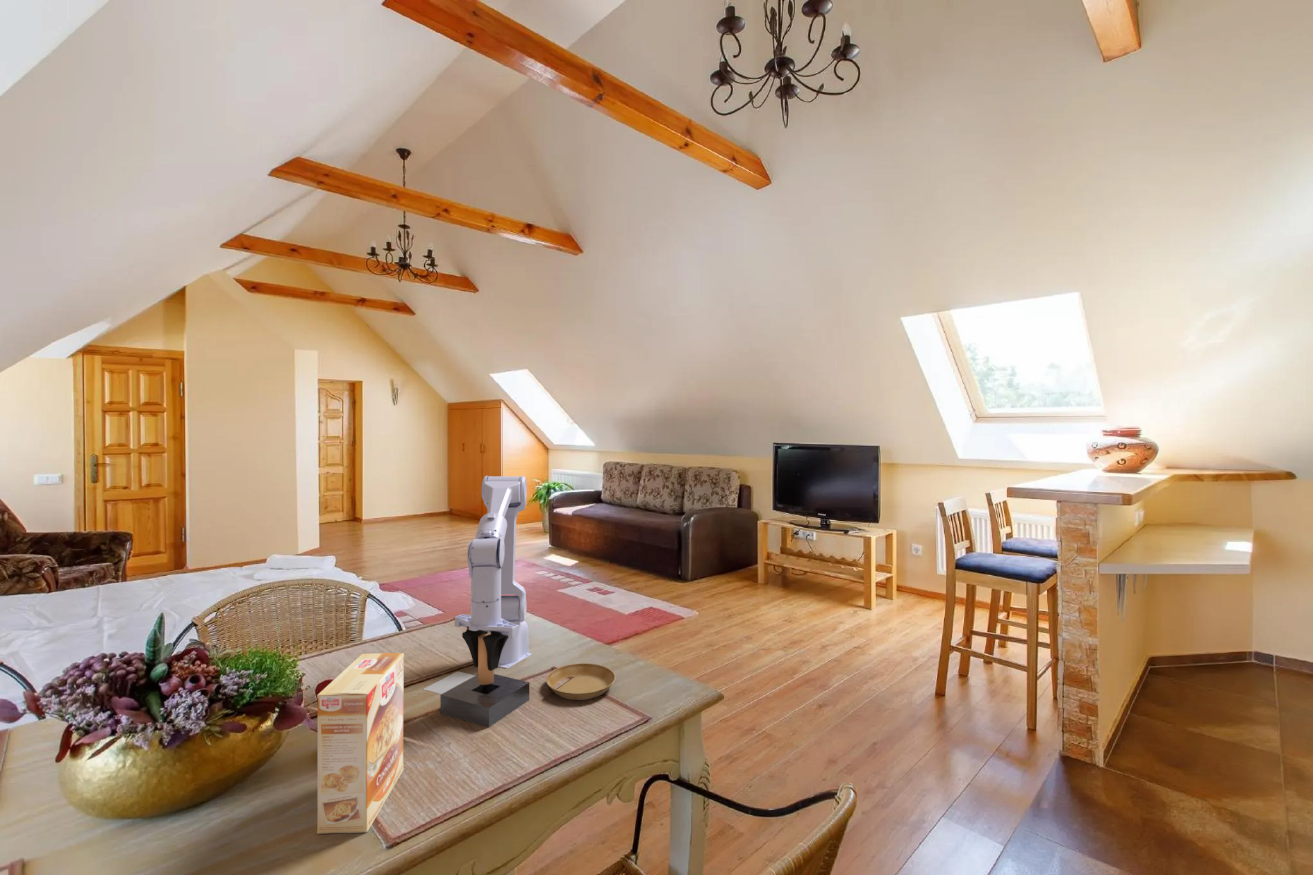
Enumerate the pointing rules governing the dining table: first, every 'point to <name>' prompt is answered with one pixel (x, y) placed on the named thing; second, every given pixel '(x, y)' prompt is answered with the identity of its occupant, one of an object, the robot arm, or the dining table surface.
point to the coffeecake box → (359, 742)
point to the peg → (483, 663)
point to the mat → (449, 682)
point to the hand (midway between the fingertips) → (486, 666)
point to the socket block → (484, 699)
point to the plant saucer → (581, 680)
